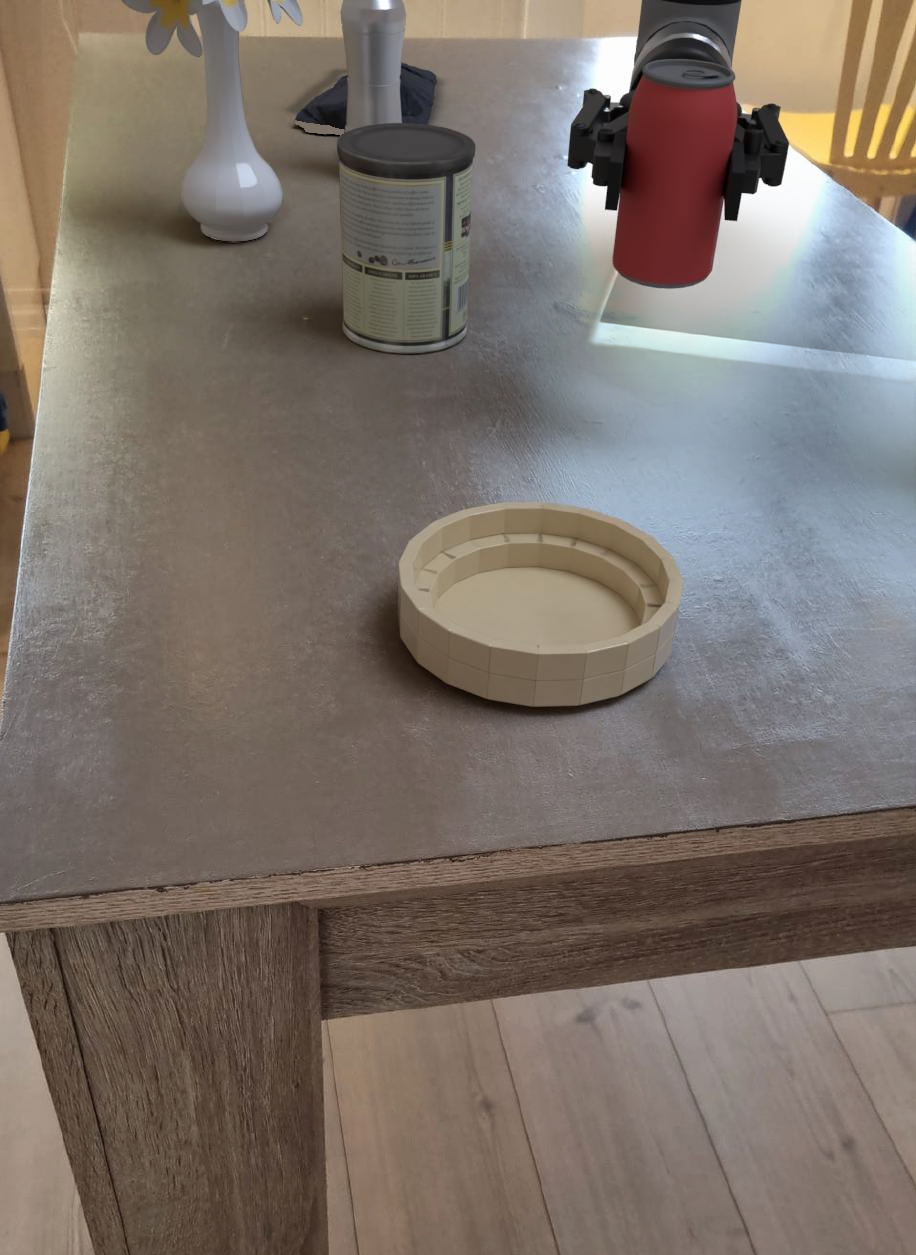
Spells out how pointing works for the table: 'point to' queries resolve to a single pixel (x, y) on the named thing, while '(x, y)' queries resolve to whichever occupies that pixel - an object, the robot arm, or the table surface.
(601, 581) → the bowl
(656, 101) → the beer can
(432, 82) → the dark blue folded cloth
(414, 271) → the coffee can
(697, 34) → the robot arm
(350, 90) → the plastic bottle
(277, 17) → the flower vase
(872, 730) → the table surface
